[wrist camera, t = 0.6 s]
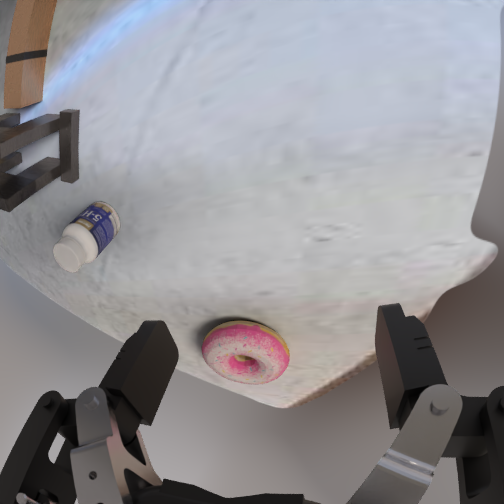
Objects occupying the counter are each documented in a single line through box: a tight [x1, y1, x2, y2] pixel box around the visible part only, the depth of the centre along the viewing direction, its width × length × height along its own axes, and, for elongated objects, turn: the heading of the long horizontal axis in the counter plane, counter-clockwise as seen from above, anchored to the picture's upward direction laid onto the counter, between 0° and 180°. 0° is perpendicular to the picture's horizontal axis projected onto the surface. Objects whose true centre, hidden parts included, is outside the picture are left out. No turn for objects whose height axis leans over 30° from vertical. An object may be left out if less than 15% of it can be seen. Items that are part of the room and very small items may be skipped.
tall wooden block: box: [4, 0, 57, 109], centre depth 18 cm, size 19×4×4 cm, turn 166°
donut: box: [202, 321, 290, 384], centre depth 42 cm, size 14×13×5 cm
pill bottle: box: [53, 202, 120, 273], centre depth 30 cm, size 5×5×9 cm
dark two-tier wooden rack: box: [0, 109, 80, 212], centre depth 23 cm, size 9×19×11 cm, turn 77°
